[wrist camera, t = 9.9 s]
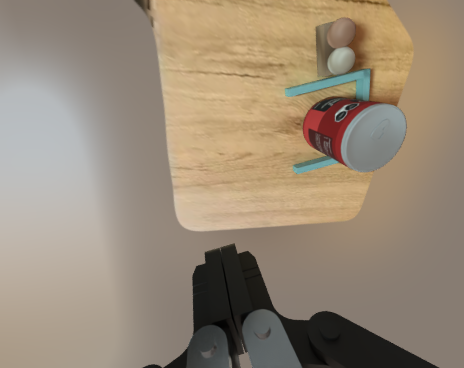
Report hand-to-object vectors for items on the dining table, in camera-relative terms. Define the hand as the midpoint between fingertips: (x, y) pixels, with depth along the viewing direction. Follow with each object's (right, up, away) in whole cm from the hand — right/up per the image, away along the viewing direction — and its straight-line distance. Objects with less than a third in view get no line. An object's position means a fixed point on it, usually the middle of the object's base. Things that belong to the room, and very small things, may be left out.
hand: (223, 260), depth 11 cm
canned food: (+15, +13, +25) cm, 32 cm away
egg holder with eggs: (+13, +22, +20) cm, 33 cm away
